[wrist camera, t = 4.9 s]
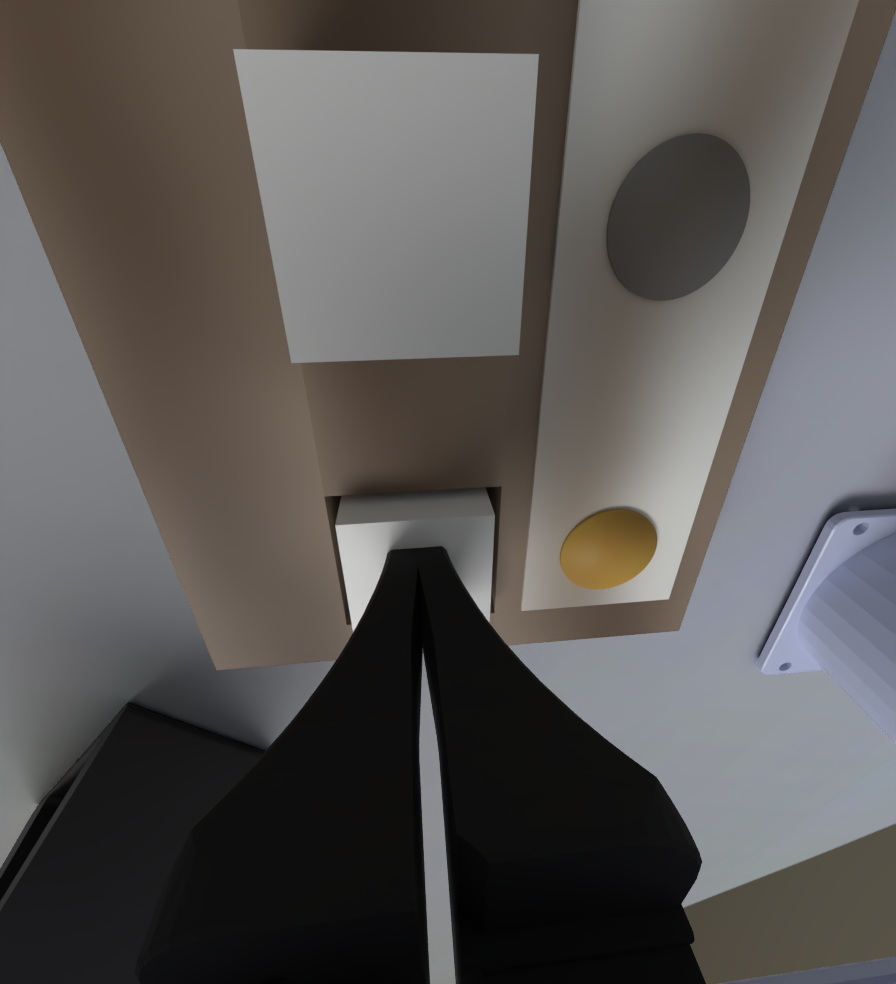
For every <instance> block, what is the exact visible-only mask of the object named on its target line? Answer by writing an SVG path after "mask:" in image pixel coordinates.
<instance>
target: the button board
mask: <svg viewBox="0 0 896 984" xmlns="http://www.w3.org/2000/svg"><path fill="white" fill-rule="evenodd" d="M895 10H896V0H0V142H1V145H2V147H3V150H4V152H5V155H6V157H7V160H8V162H9V164H10V167H11V169H12V172H13V174H14V177H15V179H16V182H17V184H18V186H19V189H20V191H21V194H22V196H23V199H24V201H25V204H26V206H27V208H28V211H29V213H30V216H31V218H32V221H33V223H34V226H35V228H36V230H37V233H38V235H39V238H40V240H41V243H42V245H43V248H44V250H45V253H46V255H47V257H48V260H49V262H50V265H51V267H52V270H53V272H54V275H55V277H56V279H57V282H58V284H59V287H60V289H61V292H62V294H63V297H64V299H65V301H66V304H67V306H68V309H69V311H70V314H71V316H72V319H73V321H74V323H75V326H76V328H77V331H78V333H79V336H80V338H81V341H82V343H83V345H84V348H85V350H86V353H87V355H88V358H89V360H90V363H91V365H92V367H93V370H94V372H95V375H96V377H97V380H98V382H99V385H100V387H101V389H102V392H103V394H104V397H105V399H106V402H107V404H108V407H109V409H110V412H111V414H112V416H113V419H114V421H115V424H116V426H117V429H118V431H119V434H120V436H121V438H122V441H123V443H124V446H125V448H126V451H127V453H128V456H129V458H130V460H131V463H132V465H133V468H134V470H135V473H136V475H137V478H138V480H139V482H140V485H141V487H142V490H143V492H144V495H145V497H146V500H147V502H148V504H149V507H150V509H151V512H152V514H153V517H154V519H155V522H156V524H157V526H158V529H159V531H160V534H161V536H162V539H163V541H164V544H165V546H166V548H167V551H168V553H169V556H170V558H171V561H172V563H173V566H174V568H175V571H176V573H177V575H178V578H179V580H180V583H181V585H182V588H183V590H184V593H185V595H186V597H187V600H188V602H189V605H190V607H191V610H192V612H193V615H194V617H195V619H196V622H197V624H198V627H199V629H200V632H201V634H202V637H203V639H204V641H205V644H206V646H207V649H208V651H209V654H210V656H211V659H212V661H213V663H214V666H215V668H216V670H227V669H239V668H250V667H262V666H274V665H285V664H297V663H309V662H320V661H332V660H337V658H338V657H339V655H340V654H341V652H342V650H343V649H344V647H345V646H346V644H347V642H348V641H349V639H350V637H351V635H352V633H353V629H352V623H351V617H350V611H349V605H348V599H347V593H346V587H345V581H344V575H343V569H342V563H341V557H340V551H339V545H338V539H337V533H336V527H335V524H336V519H337V514H338V509H339V504H340V500H341V496H344V495H361V494H378V493H395V492H412V491H429V490H447V489H464V488H481V487H486V490H487V493H488V496H489V499H490V502H491V505H492V508H493V511H494V514H495V524H494V544H493V565H492V585H491V605H490V624H491V625H492V627H493V628H494V629H495V631H496V632H497V633H498V634H499V636H500V637H501V638H502V639H503V641H504V642H505V643H506V644H507V645H518V644H530V643H541V642H553V641H565V640H576V639H588V638H600V637H611V636H623V635H635V634H646V633H658V632H670V631H679V629H680V626H681V623H682V620H683V617H684V614H685V612H686V609H687V606H688V603H689V600H690V597H691V594H692V591H693V589H694V586H695V583H696V580H697V577H698V574H699V571H700V569H701V566H702V563H703V560H704V557H705V554H706V551H707V549H708V546H709V543H710V540H711V537H712V534H713V531H714V529H715V526H716V523H717V520H718V517H719V514H720V511H721V508H722V506H723V503H724V500H725V497H726V494H727V491H728V488H729V486H730V483H731V480H732V477H733V474H734V471H735V468H736V466H737V463H738V460H739V457H740V454H741V451H742V448H743V445H744V443H745V440H746V437H747V434H748V431H749V428H750V425H751V423H752V420H753V417H754V414H755V411H756V408H757V405H758V403H759V400H760V397H761V394H762V391H763V388H764V385H765V382H766V380H767V377H768V374H769V371H770V368H771V365H772V362H773V360H774V357H775V354H776V351H777V348H778V345H779V342H780V340H781V337H782V334H783V331H784V328H785V325H786V322H787V319H788V317H789V314H790V311H791V308H792V305H793V302H794V299H795V297H796V294H797V291H798V288H799V285H800V282H801V279H802V277H803V274H804V271H805V268H806V265H807V262H808V259H809V257H810V254H811V251H812V248H813V245H814V242H815V239H816V236H817V234H818V231H819V228H820V225H821V222H822V219H823V216H824V214H825V211H826V208H827V205H828V202H829V199H830V196H831V194H832V191H833V188H834V185H835V182H836V179H837V176H838V173H839V171H840V168H841V165H842V162H843V159H844V156H845V153H846V151H847V148H848V145H849V142H850V139H851V136H852V133H853V131H854V128H855V125H856V122H857V119H858V116H859V113H860V110H861V108H862V105H863V102H864V99H865V96H866V93H867V90H868V88H869V85H870V82H871V79H872V76H873V73H874V70H875V68H876V65H877V62H878V59H879V56H880V53H881V50H882V48H883V45H884V42H885V39H886V36H887V33H888V30H889V27H890V25H891V22H892V19H893V16H894V13H895ZM233 49H255V50H316V51H378V52H439V53H501V54H539V59H538V74H537V89H536V104H535V119H534V134H533V149H532V164H531V179H530V194H529V209H528V224H527V239H526V254H525V269H524V284H523V299H522V314H521V329H520V344H519V355H505V356H477V357H449V358H421V359H393V360H365V361H337V362H309V363H291V358H290V353H289V348H288V342H287V337H286V331H285V326H284V321H283V315H282V310H281V305H280V299H279V294H278V288H277V283H276V278H275V272H274V267H273V261H272V256H271V251H270V245H269V240H268V235H267V229H266V224H265V218H264V213H263V208H262V202H261V197H260V191H259V186H258V181H257V175H256V170H255V164H254V159H253V154H252V148H251V143H250V138H249V132H248V127H247V121H246V116H245V111H244V105H243V100H242V94H241V89H240V84H239V78H238V73H237V67H236V62H235V57H234V51H233ZM422 646H423V645H422ZM422 653H423V651H422Z"/></svg>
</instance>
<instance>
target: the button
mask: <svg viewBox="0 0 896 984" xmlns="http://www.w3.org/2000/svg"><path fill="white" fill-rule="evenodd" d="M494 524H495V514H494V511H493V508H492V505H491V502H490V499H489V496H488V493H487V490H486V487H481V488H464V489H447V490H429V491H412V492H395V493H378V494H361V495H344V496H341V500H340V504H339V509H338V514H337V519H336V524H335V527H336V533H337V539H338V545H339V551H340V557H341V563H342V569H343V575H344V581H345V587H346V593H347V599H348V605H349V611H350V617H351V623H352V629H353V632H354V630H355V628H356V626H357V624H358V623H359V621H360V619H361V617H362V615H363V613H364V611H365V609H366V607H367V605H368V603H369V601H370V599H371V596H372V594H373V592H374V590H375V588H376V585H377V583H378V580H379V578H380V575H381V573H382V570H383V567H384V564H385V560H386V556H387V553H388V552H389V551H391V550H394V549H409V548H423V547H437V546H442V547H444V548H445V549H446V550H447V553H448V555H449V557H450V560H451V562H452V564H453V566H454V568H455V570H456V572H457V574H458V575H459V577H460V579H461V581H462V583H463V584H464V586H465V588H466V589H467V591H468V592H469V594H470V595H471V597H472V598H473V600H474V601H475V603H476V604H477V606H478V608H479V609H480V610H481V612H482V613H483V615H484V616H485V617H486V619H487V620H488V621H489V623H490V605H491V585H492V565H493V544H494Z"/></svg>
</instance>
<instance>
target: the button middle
mask: <svg viewBox="0 0 896 984" xmlns="http://www.w3.org/2000/svg"><path fill="white" fill-rule="evenodd" d="M233 51H234V57H235V62H236V67H237V73H238V78H239V84H240V89H241V94H242V100H243V105H244V111H245V116H246V121H247V127H248V132H249V138H250V143H251V148H252V154H253V159H254V164H255V170H256V175H257V181H258V186H259V191H260V197H261V202H262V208H263V213H264V218H265V224H266V229H267V235H268V240H269V245H270V251H271V256H272V261H273V267H274V272H275V278H276V283H277V288H278V294H279V299H280V305H281V310H282V315H283V321H284V326H285V331H286V337H287V342H288V348H289V353H290V358H291V363H309V362H337V361H365V360H393V359H421V358H449V357H477V356H505V355H519V344H520V329H521V314H522V299H523V284H524V269H525V254H526V239H527V224H528V209H529V194H530V179H531V164H532V149H533V134H534V119H535V104H536V89H537V74H538V59H539V54H501V53H439V52H378V51H316V50H255V49H233Z"/></svg>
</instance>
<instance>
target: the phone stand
mask: <svg viewBox="0 0 896 984" xmlns="http://www.w3.org/2000/svg"><path fill="white" fill-rule="evenodd" d="M264 753H265V752H263V751H260V750H258V749H255V748H252V747H249V746H246V745H244V744H241V743H238V742H235V741H232V740H230V739H227V738H224V737H221V736H218V735H215V734H213V733H210V732H207V731H204V730H201V729H199V728H196V727H193V726H190V725H187V724H185V723H182V722H179V721H176V720H173V719H171V718H168V717H165V716H162V715H159V714H157V713H154V712H151V711H148V710H145V709H143V708H140V707H137V706H134V705H131V704H128V703H127V704H126V705H125V706H124V707H123V708H122V710H121V711H120V712H119V713H118V714H117V715H116V716H115V718H114V719H113V720H112V721H111V722H110V723H109V724H108V726H107V727H106V728H105V729H104V730H103V731H102V732H101V734H100V735H99V736H98V737H97V738H96V739H95V740H94V742H93V743H92V744H91V745H90V746H89V747H88V748H87V750H86V751H85V752H84V753H83V754H82V756H81V757H80V759H78V760H77V761H76V762H75V763H74V765H73V766H72V767H71V768H70V769H69V770H68V771H67V773H66V774H65V775H64V776H63V777H62V778H61V779H60V781H59V782H58V783H57V784H56V785H55V786H54V787H53V789H52V790H51V791H50V792H49V793H48V794H47V795H46V797H45V798H44V799H43V800H42V801H41V802H40V804H39V805H38V806H37V808H36V809H35V811H34V812H33V814H32V815H31V817H30V819H29V820H28V822H27V824H26V825H25V827H24V829H23V831H22V832H21V834H20V836H19V838H18V839H17V841H16V843H15V844H14V846H13V848H12V850H11V851H10V853H9V855H8V857H7V858H6V860H5V862H4V863H3V865H2V867H1V869H0V984H140V982H139V980H138V978H137V976H136V974H135V968H136V962H137V959H138V956H139V953H140V950H141V947H142V945H143V942H144V939H145V936H146V933H147V930H148V927H149V924H150V922H151V919H152V916H153V913H154V910H155V907H156V904H157V902H158V899H159V896H160V894H161V891H162V888H163V886H164V884H165V882H166V879H167V877H168V875H169V873H170V871H171V869H172V867H173V864H174V862H175V860H176V858H177V856H178V854H179V851H180V849H181V847H182V845H183V843H184V841H185V839H186V837H187V835H188V833H189V831H190V830H191V828H192V827H193V826H194V825H195V824H196V823H197V822H198V821H199V820H200V819H201V818H202V817H203V816H204V815H205V814H206V813H207V812H208V811H209V810H210V809H211V808H212V807H213V806H214V805H215V804H216V803H217V802H218V801H219V800H220V799H221V798H222V797H223V796H224V795H225V794H226V793H227V792H228V791H229V790H230V789H231V788H232V787H233V786H234V785H235V784H236V783H237V782H238V781H239V780H240V779H241V778H242V777H243V776H244V775H245V774H246V773H247V772H248V770H249V769H250V768H251V767H252V766H253V765H254V764H255V763H256V762H257V761H258V759H259V758H260V757H261V756H262V755H263V754H264Z"/></svg>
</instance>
